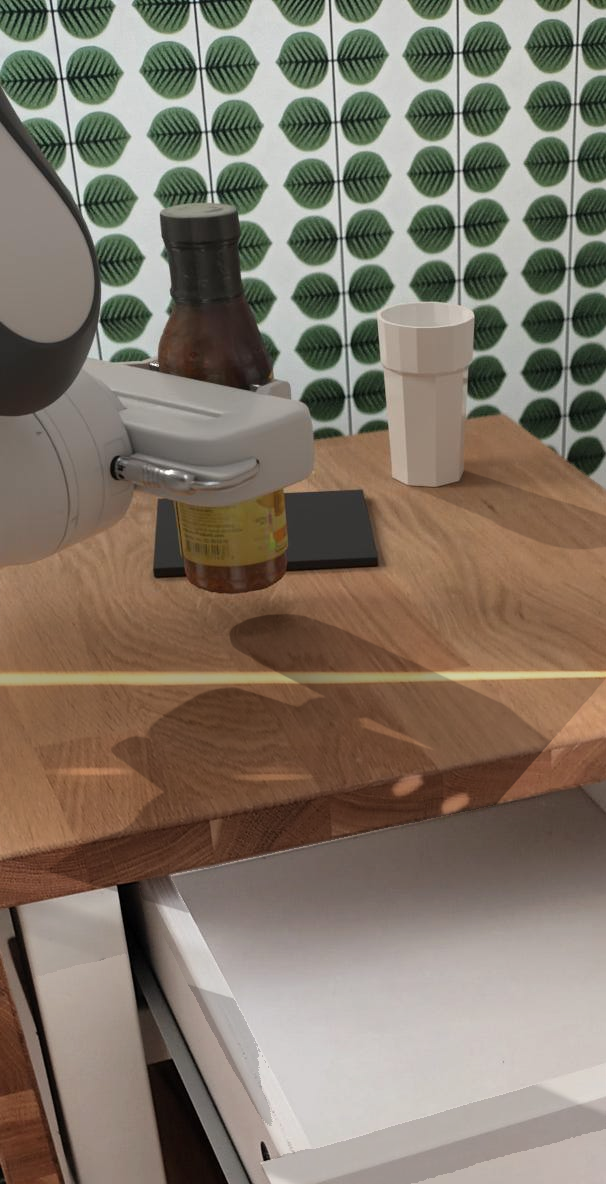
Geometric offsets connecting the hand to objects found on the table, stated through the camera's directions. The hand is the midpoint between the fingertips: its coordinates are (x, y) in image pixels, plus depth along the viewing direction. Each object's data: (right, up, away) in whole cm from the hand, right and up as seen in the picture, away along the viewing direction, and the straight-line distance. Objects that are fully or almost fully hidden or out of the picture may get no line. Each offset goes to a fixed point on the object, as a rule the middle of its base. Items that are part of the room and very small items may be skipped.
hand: (225, 382), depth 85 cm
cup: (+10, +3, +27) cm, 29 cm away
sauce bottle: (0, -9, +6) cm, 11 cm away
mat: (0, -4, +17) cm, 17 cm away
